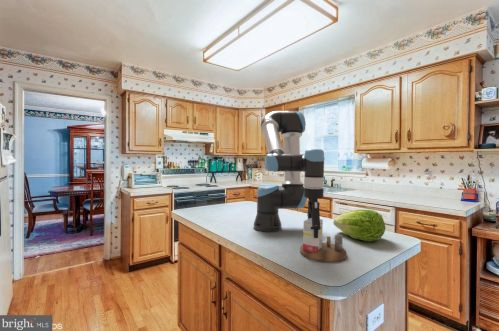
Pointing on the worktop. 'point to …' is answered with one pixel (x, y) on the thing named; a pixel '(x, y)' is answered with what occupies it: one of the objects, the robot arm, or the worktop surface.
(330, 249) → the disc
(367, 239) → the lettuce
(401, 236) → the worktop surface
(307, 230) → the ink box
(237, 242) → the worktop surface
